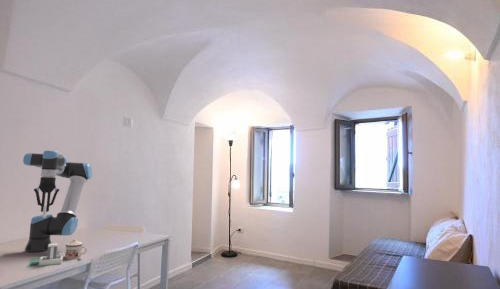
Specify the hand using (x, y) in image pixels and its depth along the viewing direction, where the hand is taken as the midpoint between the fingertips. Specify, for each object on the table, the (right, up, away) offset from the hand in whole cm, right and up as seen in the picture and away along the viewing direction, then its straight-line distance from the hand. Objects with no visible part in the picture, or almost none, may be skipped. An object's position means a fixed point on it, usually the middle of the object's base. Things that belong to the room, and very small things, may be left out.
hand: (44, 217), depth 183 cm
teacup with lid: (+12, -28, +11) cm, 33 cm away
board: (+1, -27, -1) cm, 27 cm away
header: (+5, -25, -2) cm, 26 cm away
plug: (+5, -25, -2) cm, 26 cm away
